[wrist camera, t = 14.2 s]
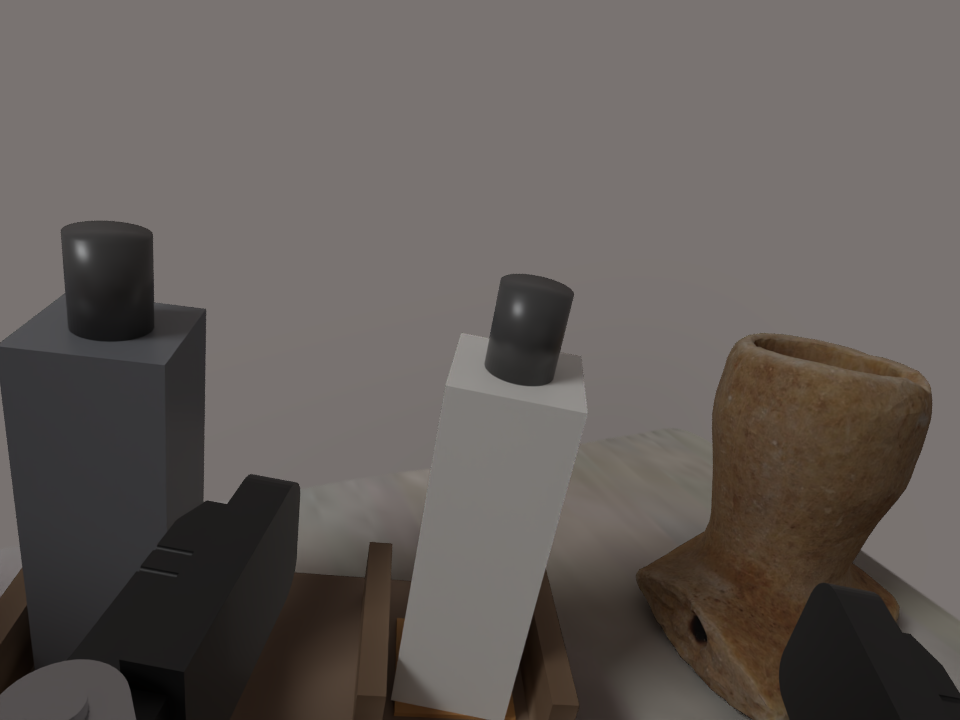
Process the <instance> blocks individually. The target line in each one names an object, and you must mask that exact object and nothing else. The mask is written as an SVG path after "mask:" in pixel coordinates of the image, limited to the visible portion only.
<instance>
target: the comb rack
mask: <svg viewBox="0 0 960 720" xmlns="http://www.w3.org/2000/svg"><path fill="white" fill-rule="evenodd" d="M391 563H392V544H389V543H376V542H370V545H369V552H368V560H367V567H366V574H365V578H362V577H348V576H334V575H320V574H307V573H294V577H293V581H292V584H291V588H290V591H289V594H288V596H287V599H286V601H285V604H284V606H283V608H282V610H281V612H280V614H279V616H278V618H277V621H276V623H275V625H274V627H273V629H272V631H271V633H270V635H269V638H268V640H267V642H266V644H265V646H264V648H263V650H262V652H261V654H260V657H259V659H258V661H257V663H256V665H255V667H254V669H253V671H252V674H251V676H250V678H249V680H248V682H247V684H246V686H245V688H244V690H243V693H242V695H241V697H240V699H239V701H238V703H237V705H236V707H235V710H234V712H233V714H232V716H231V718H230V720H487V719H483V718H478V717H473V716H468V715H463V714H458V713H453V712H448V711H443V710H438V709H433V708H428V707H423V706H418V705H413V704H408V703H403V702H398V701H393V700H391V696H392V691H393V685H394V679H395V673H396V668H397V662H398V656H399V650H400V645H401V639H402V633H403V627H404V621H405V616H406V610H407V604H408V598H409V593H410V587H411V581H403V580H391ZM33 671H35V667H34V658H33V650H32V642H31V634H30V625H29V617H28V609H27V601H26V592H25V584H24V576H23V568H22V569H21V570H20V571H19V573H18V574H17V576H16V577H15V578H14V580H13V581H12V582H11V584H10V585H9V587H8V588H7V589H6V591H5V592H4V594H3V595H2V596H1V598H0V694H1V693H2V692H4V691H5V690H6V689H7V688H8V687H9V686H11V685H12V684H13V683H15V682H16V681H17V680H19V679H21V678H22V677H24V676H26V675H27V674H29V673H31V672H33ZM578 709H579V702H578V697H577V693H576V689H575V685H574V681H573V677H572V673H571V669H570V665H569V661H568V657H567V653H566V649H565V645H564V641H563V637H562V633H561V628H560V624H559V620H558V616H557V612H556V608H555V604H554V600H553V596H552V592H551V588H550V584H549V580H548V576H547V572H546V569H545V572H544V576H543V580H542V583H541V587H540V591H539V594H538V598H537V602H536V605H535V609H534V613H533V616H532V620H531V624H530V627H529V631H528V635H527V638H526V642H525V645H524V649H523V653H522V656H521V660H520V664H519V667H518V671H517V675H516V678H515V682H514V686H513V689H512V693H511V697H510V700H509V704H508V708H507V711H506V715H505V719H504V720H575V718H576V715H577V712H578Z"/></svg>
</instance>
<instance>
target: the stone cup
mask: <svg viewBox="0 0 960 720" xmlns="http://www.w3.org/2000/svg"><path fill="white" fill-rule="evenodd" d="M931 414H932V394H931V387H930V384H929V383H928V381H927V380H926V379H925V377H924V376H922V374H921V373H920V372H919V371H917V370H914V369H912V368H910V367H907V366H905V365H904V364H901V363H898V362H895V361H892V360H889V359H886V358H883V357H877V356H870V355H868V354H865V353H863V352H860V351H858V350H855V349H852V348H848V347H845V346H841V345H836V344H832V343H828V342H824V341H820V340H815V339H808V338H802V337H796V336H791V335H784V334H768V333H760V334H753V335H748V336H746V337H744V338H742V339H741V340H739V341H738V342H737V343H736V344H735V346H734V347H733V348H732V350H731V352H730V354H729V356H728V358H727V361H726V365H725V368H724V371H723V374H722V377H721V379H720V382H719V385H718V388H717V391H716V395H715V400H714V406H713V413H712V440H713V481H712V507H711V516H710V521H709V524H708V526H707V528H706V530H705V532H703V533H701V534H699V535H697V536H696V537H694V538H692V539H691V540H689V541H687V542H686V543H684V544H682V545H681V546H679V547H677V548H676V549H674V550H673V551H671V552H670V553H668V554H667V555H665V556H663V557H661V558H660V559H658V560H656V561H654V562H653V563H651V564H649V565H648V566H646V567H644V568H641V569H639V571H638V572H637V574H636V580H637V583H638V586H639V588H640V590H641V591H642V593H643V594H644V596H645V597H646V599H647V601H648V603H649V605H650V607H651V610H652V612H653V614H654V616H655V618H656V620H657V622H658V623H659V624H660V625H661V626H662V628H663V630H664V632H665V634H666V635H667V637H668V639H669V640H670V642H671V643H672V644H673V645H674V647H675V648H676V650H677V652H678V653H679V655H680V656H681V658H682V659H684V660H685V661H686V662H687V663H688V664H689V665H690V666H691V667H692V668H693V669H694V671H695V672H696V673H697V674H698V675H699V677H700V678H701V679H702V680H703V681H704V682H705V683H706V684H707V685H708V686H709V687H710V688H711V689H712V690H713V691H714V692H716V693H717V694H718V695H719V696H721V697H722V698H724V699H725V700H726V701H727V702H728V703H729V705H731V706H732V707H734V708H736V709H737V710H739V711H741V712H742V713H744V714H745V715H747V716H748V717H750V718H751V719H753V720H789V717H788V714H787V711H786V708H785V705H784V703H783V700H782V696H781V692H780V686H779V667H780V661H781V657H782V654H783V651H784V649H785V647H786V645H787V643H788V641H789V639H790V636H791V634H792V632H793V630H794V628H795V626H796V624H797V622H798V620H799V618H800V615H801V613H802V611H803V609H804V607H805V605H806V603H807V601H808V599H809V596H810V594H811V592H812V591H813V589H814V588H815V587H816V586H817V585H818V584H820V583H829V584H834V585H840V586H845V587H850V588H856V589H861V590H867V591H872V592H875V593H876V594H878V595H879V596H880V597H881V599H882V600H883V601H884V603H885V605H886V606H887V608H888V610H889V611H890V613H891V615H892V617H893V618H894V620H895V622H896V623H897V620H898V616H899V605H898V603H897V601H896V600H895V598H894V597H893V596H892V595H891V594H890V593H889V592H888V591H887V590H886V589H884V588H883V587H882V586H881V585H880V584H878V583H877V582H876V581H875V580H873V579H872V578H871V577H870V576H869V575H867V574H866V573H865V572H864V571H862V570H861V569H860V568H858V567H857V566H856V565H854V564H853V563H852V562H853V561H854V559H855V557H856V556H857V554H858V553H859V551H860V550H861V548H862V546H863V545H864V543H865V541H866V540H867V538H868V536H869V535H870V534H871V532H872V531H873V529H874V528H875V527H876V525H877V524H878V522H879V521H880V520H881V519H882V517H883V516H884V515H885V514H886V513H887V512H888V511H889V509H890V508H891V507H892V506H893V505H894V503H895V502H896V501H897V500H898V498H899V497H900V496H901V494H902V493H903V492H904V491H905V489H906V487H907V485H908V483H909V481H910V479H911V476H912V474H913V471H914V468H915V465H916V462H917V460H918V458H919V455H920V453H921V450H922V447H923V444H924V441H925V438H926V434H927V431H928V428H929V424H930V420H931Z"/></svg>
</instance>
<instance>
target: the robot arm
mask: <svg viewBox="0 0 960 720" xmlns="http://www.w3.org/2000/svg"><path fill="white" fill-rule="evenodd" d="M299 506H300V486H299V484H298V483H296V482H291V481H285V480H280V479H275V478H269V477H264V476H259V475H253V474H250V475H248V476H247V477H246V478H245V479H244V481H243V482H242V484H241V485H240V487H239V488H238V489H237V491H236V492H235V494H234V495H233V497H232V498H231V499H230V501H229V502H228V504H223V503H217V502H212V501H205V502H204V503H202V504H201V505H199V506H197V507H196V508H194V509H193V510H191V511H189V512H188V513H186V514H185V515H183V516H181V517H180V518H178V519H177V520H176V521H175V522H174V524H173V525H172V526H171V527H170V529H169V530H168V531H167V533H166V534H165V535H164V536H163V538H162V539H161V540H160V542H159V543H158V544H157V548H156V550H153V551H152V552H151V553H150V554H149V556H148V557H147V558H146V560H145V561H144V562H143V563H142V565H141V567H140V570H139V572H138V571H136V572H135V574H134V575H133V576H132V577H131V579H130V580H129V581H128V583H127V584H126V585H125V586H124V588H123V589H122V590H121V592H120V593H119V594H118V595H117V597H116V598H115V599H114V601H113V602H112V603H111V604H110V606H109V607H108V608H107V610H106V611H105V612H104V613H103V615H102V616H101V617H100V619H99V620H98V621H97V622H96V624H95V625H94V626H93V628H92V629H91V630H90V631H89V633H88V634H87V635H86V637H85V638H84V639H83V640H82V642H81V643H80V644H79V646H78V647H77V648H76V649H75V651H74V652H73V653H72V654H71V655H70V657H69V658H68V659H67V660H66V661H62V662H58V663H54V664H51V665H48V666H45V667H42V668H40V669H37V670H35V671H33V672H31V673H29V674H27V675H26V676H24V677H22V678H21V679H19V680H17V681H16V682H15V683H13V684H12V685H11V686H9V687H8V688H7V689H6V690H5V691H4V692H2V693H1V694H0V720H230V718H231V716H232V714H233V712H234V710H235V707H236V705H237V703H238V701H239V699H240V697H241V695H242V693H243V690H244V688H245V686H246V684H247V682H248V680H249V678H250V676H251V674H252V671H253V669H254V667H255V665H256V663H257V661H258V659H259V657H260V654H261V652H262V650H263V648H264V646H265V644H266V642H267V640H268V638H269V635H270V633H271V631H272V629H273V627H274V625H275V623H276V621H277V618H278V616H279V614H280V612H281V610H282V608H283V606H284V604H285V601H286V599H287V596H288V594H289V591H290V588H291V584H292V581H293V577H294V572H295V567H296V558H297V541H298V523H299ZM779 686H780V692H781V696H782V700H783V703H784V705H785V708H786V711H787V714H788V717H789V720H960V693H959V691H958V690H957V688H956V687H955V685H954V683H953V682H952V680H951V679H950V677H949V675H948V674H947V672H946V671H945V669H944V667H943V666H942V665H941V664H940V663H939V662H938V661H937V660H936V659H935V658H934V657H933V656H932V655H931V654H930V653H929V652H928V651H927V650H926V649H925V648H924V647H923V646H922V645H921V644H920V643H919V642H918V641H917V640H916V639H915V638H914V637H913V636H912V635H911V634H907V633H902V632H901V630H900V628H899V627H898V625H897V623H896V622H895V620H894V618H893V617H892V615H891V613H890V611H889V610H888V608H887V606H886V605H885V603H884V601H883V600H882V599H881V597H880V596H879V595H878V594H876V593H875V592H872V591H867V590H861V589H856V588H850V587H845V586H840V585H834V584H829V583H820V584H818V585H817V586H816V587H815V588H814V589H813V591H812V592H811V594H810V596H809V599H808V601H807V603H806V605H805V607H804V609H803V611H802V613H801V615H800V618H799V620H798V622H797V624H796V626H795V628H794V630H793V632H792V634H791V636H790V639H789V641H788V643H787V645H786V647H785V649H784V651H783V654H782V657H781V661H780V667H779Z"/></svg>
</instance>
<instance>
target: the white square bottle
mask: <svg viewBox="0 0 960 720" xmlns="http://www.w3.org/2000/svg"><path fill="white" fill-rule="evenodd" d="M573 297H574V293H573V291H572V290H571V289H570V288H569V287H567V286H566V285H564V284H562V283H560V282H557V281H554V280H552V279H548V278H544V277H540V276H535V275H527V274H510V275H506V276H504V277H502V278H501V281H500V286H499V292H498V296H497V302H496V307H495V312H494V317H493V322H492V327H491V332H490V337H489V338H485V337H480V336H475V335H470V334H465V333H461V336H460V339H459V343H458V346H457V349H456V353H455V356H454V359H453V363H452V366H451V369H450V372H449V376H448V379H447V382H446V385H445V391H444V397H443V402H442V408H441V414H440V420H439V426H438V432H437V437H436V443H435V449H434V454H433V460H432V466H431V472H430V477H429V483H428V489H427V495H426V500H425V506H424V512H423V518H422V523H421V529H420V535H419V541H418V547H417V552H416V558H415V564H414V570H413V575H412V581H411V587H410V593H409V598H408V604H407V610H406V616H405V621H404V627H403V633H402V639H401V645H400V650H399V656H398V662H397V668H396V673H395V679H394V685H393V691H392V696H391V700H393V701H398V702H403V703H408V704H413V705H418V706H423V707H428V708H433V709H438V710H443V711H448V712H453V713H458V714H463V715H468V716H473V717H478V718H483V719H487V720H504V719H505V715H506V711H507V708H508V704H509V700H510V697H511V693H512V689H513V686H514V682H515V678H516V675H517V671H518V667H519V664H520V660H521V656H522V653H523V649H524V645H525V642H526V638H527V635H528V631H529V627H530V624H531V620H532V616H533V613H534V609H535V605H536V602H537V598H538V594H539V591H540V587H541V583H542V580H543V576H544V572H545V569H546V565H547V561H548V558H549V554H550V550H551V547H552V543H553V539H554V536H555V532H556V528H557V525H558V521H559V517H560V514H561V510H562V506H563V503H564V499H565V495H566V492H567V488H568V484H569V481H570V477H571V473H572V470H573V466H574V462H575V459H576V455H577V451H578V448H579V444H580V440H581V437H582V433H583V429H584V425H585V422H586V418H587V414H588V411H587V403H586V394H585V385H584V376H583V369H582V359H581V356H577V355H572V354H566V353H562V352H560V350H561V345H562V341H563V338H564V333H565V329H566V325H567V321H568V317H569V313H570V309H571V305H572V301H573Z"/></svg>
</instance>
